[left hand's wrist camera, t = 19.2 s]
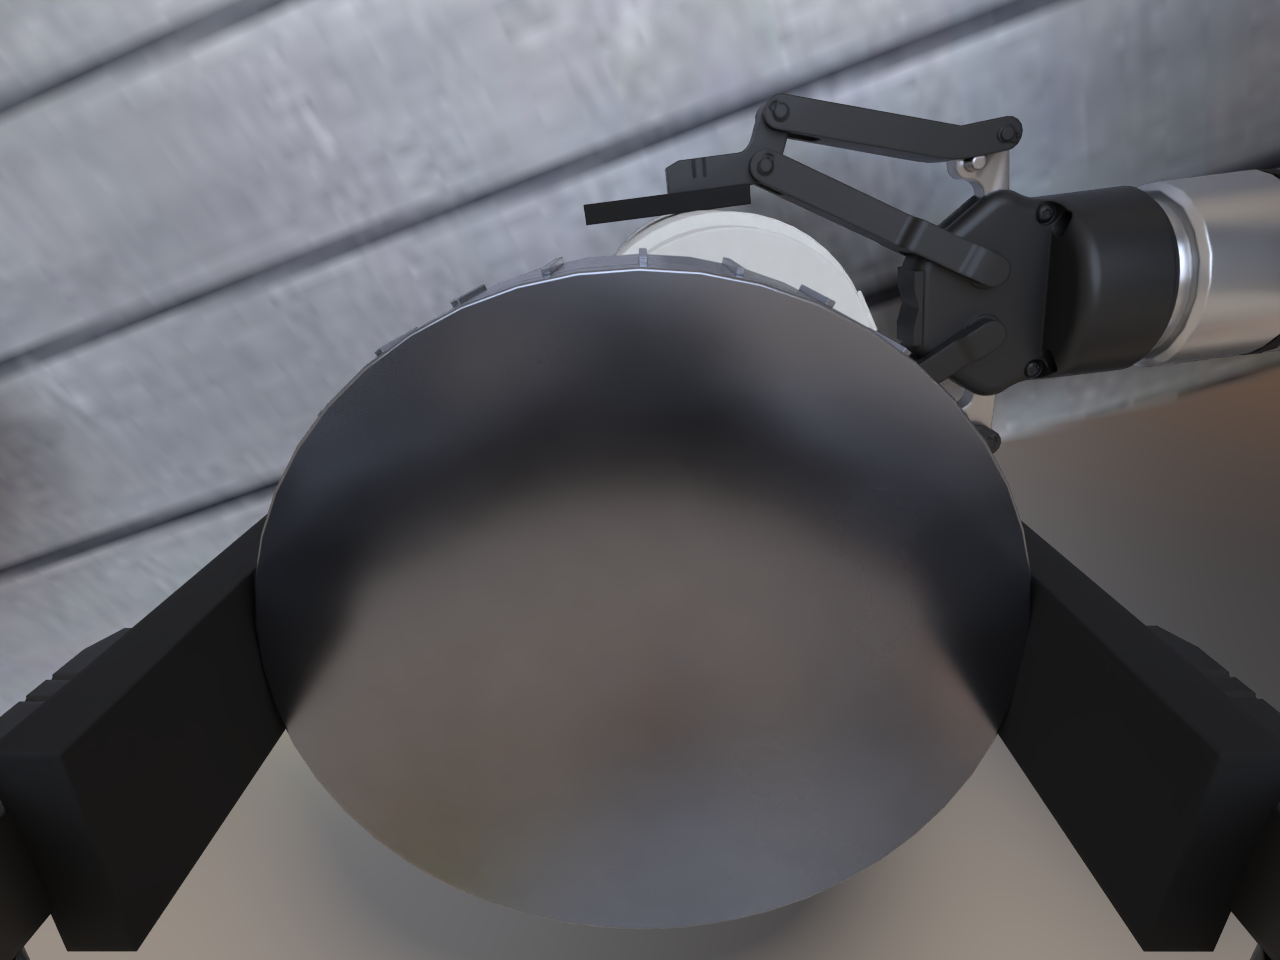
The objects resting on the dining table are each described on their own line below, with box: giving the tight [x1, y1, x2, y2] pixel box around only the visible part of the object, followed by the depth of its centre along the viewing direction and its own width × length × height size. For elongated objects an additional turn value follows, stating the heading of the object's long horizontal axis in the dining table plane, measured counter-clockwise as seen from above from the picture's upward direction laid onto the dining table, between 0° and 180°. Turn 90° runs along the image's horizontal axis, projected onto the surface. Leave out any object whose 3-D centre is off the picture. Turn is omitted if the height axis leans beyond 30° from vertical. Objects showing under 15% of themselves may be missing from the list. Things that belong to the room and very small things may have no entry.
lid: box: [254, 248, 1031, 929], centre depth 11 cm, size 11×11×2 cm
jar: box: [615, 210, 877, 331], centre depth 29 cm, size 10×10×16 cm
